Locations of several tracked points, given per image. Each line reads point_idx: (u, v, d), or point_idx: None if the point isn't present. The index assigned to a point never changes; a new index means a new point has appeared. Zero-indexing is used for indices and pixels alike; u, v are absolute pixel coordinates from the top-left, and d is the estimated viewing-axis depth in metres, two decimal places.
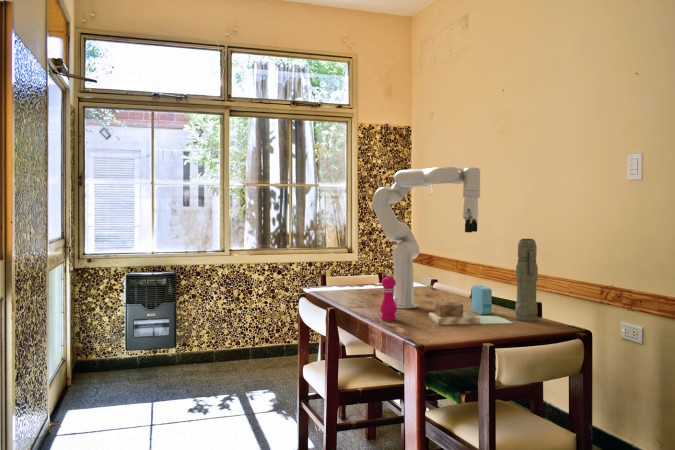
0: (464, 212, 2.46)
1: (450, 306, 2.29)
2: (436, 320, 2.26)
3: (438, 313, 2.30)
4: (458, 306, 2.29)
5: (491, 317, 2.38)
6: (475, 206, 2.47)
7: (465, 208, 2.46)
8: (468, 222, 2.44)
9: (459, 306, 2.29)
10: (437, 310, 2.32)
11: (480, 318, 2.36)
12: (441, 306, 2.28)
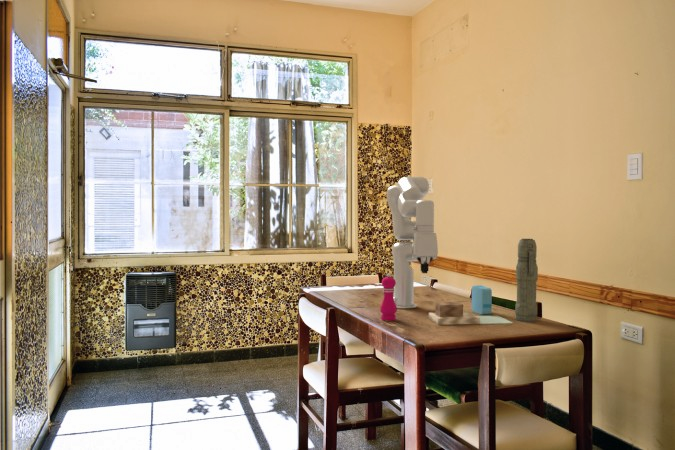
0: (437, 249, 2.28)
1: (450, 306, 2.29)
2: (436, 320, 2.26)
3: (438, 313, 2.30)
4: (458, 306, 2.29)
5: (491, 317, 2.38)
6: None
7: None
8: None
9: (459, 306, 2.29)
10: (437, 310, 2.32)
11: (480, 318, 2.36)
12: (441, 306, 2.28)
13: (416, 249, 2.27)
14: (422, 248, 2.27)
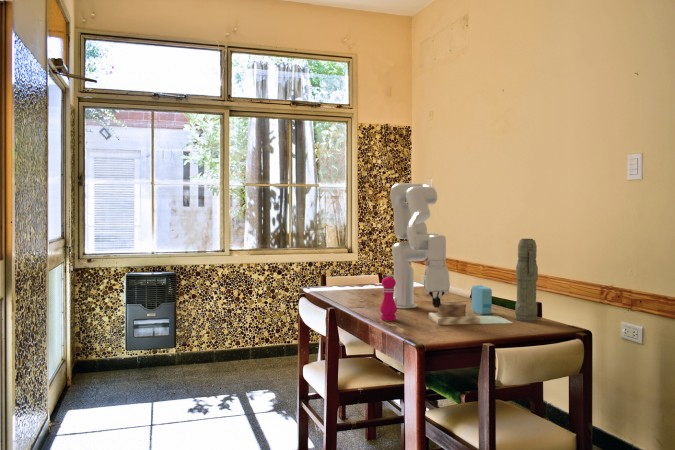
0: None
1: (453, 306, 2.29)
2: (436, 320, 2.26)
3: (441, 313, 2.30)
4: (461, 306, 2.29)
5: (491, 317, 2.38)
6: None
7: None
8: (439, 297, 2.31)
9: (462, 306, 2.29)
10: (440, 310, 2.32)
11: (480, 318, 2.36)
12: (444, 306, 2.28)
13: (428, 284, 2.28)
14: (434, 283, 2.28)
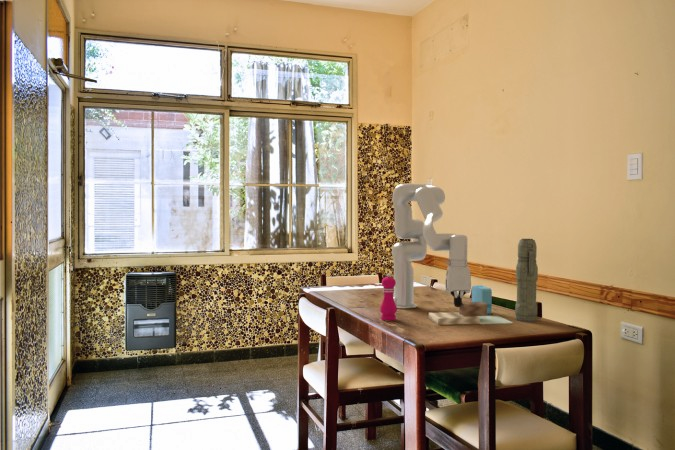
0: (470, 283, 2.31)
1: (474, 306, 2.30)
2: (436, 320, 2.26)
3: (462, 312, 2.31)
4: (482, 306, 2.30)
5: (491, 317, 2.38)
6: None
7: None
8: None
9: (483, 306, 2.30)
10: (461, 309, 2.33)
11: (480, 318, 2.36)
12: (465, 306, 2.29)
13: (450, 284, 2.29)
14: (456, 283, 2.29)
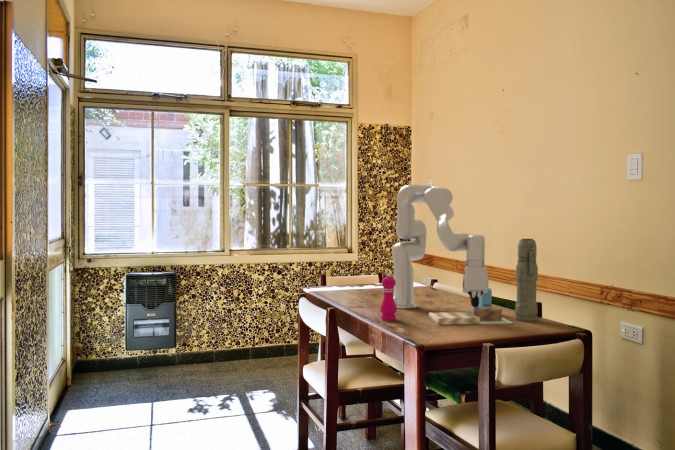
0: None
1: (489, 310, 2.30)
2: (436, 320, 2.26)
3: None
4: (497, 311, 2.31)
5: None
6: None
7: None
8: None
9: (498, 311, 2.31)
10: (475, 314, 2.33)
11: None
12: (480, 310, 2.30)
13: (467, 283, 2.30)
14: (473, 282, 2.30)
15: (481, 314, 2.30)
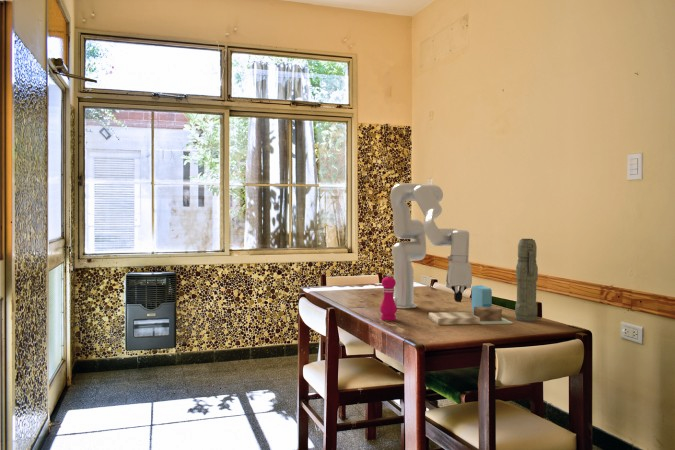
0: (471, 278, 2.32)
1: (489, 310, 2.30)
2: (436, 320, 2.26)
3: None
4: (497, 311, 2.31)
5: None
6: None
7: None
8: None
9: (498, 311, 2.31)
10: (475, 314, 2.33)
11: None
12: (480, 310, 2.30)
13: (451, 279, 2.31)
14: (457, 278, 2.31)
15: (481, 314, 2.30)
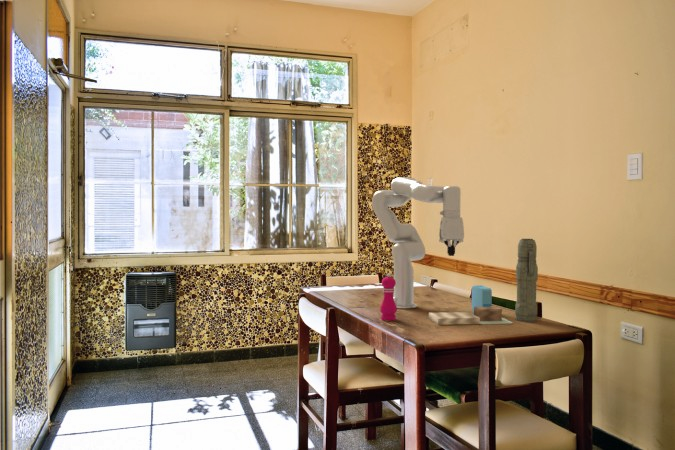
0: (463, 232, 2.40)
1: (489, 310, 2.30)
2: (436, 320, 2.26)
3: None
4: (497, 311, 2.31)
5: None
6: None
7: None
8: (454, 246, 2.42)
9: (498, 311, 2.31)
10: (475, 314, 2.33)
11: None
12: (480, 310, 2.30)
13: (444, 233, 2.38)
14: (449, 232, 2.38)
15: (481, 314, 2.30)
